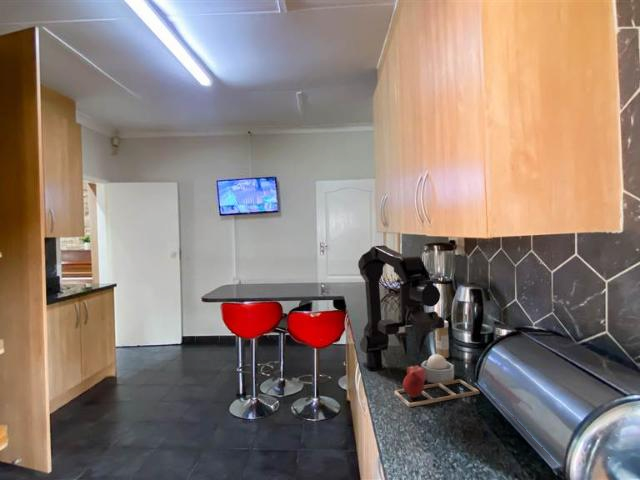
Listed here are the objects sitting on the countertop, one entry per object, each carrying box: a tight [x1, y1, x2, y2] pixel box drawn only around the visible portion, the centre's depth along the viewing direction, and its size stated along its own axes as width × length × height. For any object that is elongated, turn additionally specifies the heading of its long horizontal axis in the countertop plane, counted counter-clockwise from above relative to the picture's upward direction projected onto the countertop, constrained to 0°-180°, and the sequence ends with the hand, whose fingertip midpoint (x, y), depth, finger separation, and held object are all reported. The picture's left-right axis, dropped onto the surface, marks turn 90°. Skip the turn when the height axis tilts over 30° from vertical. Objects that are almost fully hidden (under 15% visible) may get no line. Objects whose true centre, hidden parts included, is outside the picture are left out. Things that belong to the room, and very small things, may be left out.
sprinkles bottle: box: [435, 320, 450, 359], centre depth 138 cm, size 5×5×13 cm
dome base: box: [406, 359, 455, 384], centre depth 119 cm, size 10×15×4 cm, turn 105°
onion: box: [402, 370, 425, 399], centre depth 106 cm, size 6×6×8 cm
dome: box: [426, 353, 449, 370], centre depth 119 cm, size 7×7×6 cm
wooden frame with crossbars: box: [393, 378, 480, 408], centre depth 108 cm, size 9×23×1 cm, turn 105°
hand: (412, 353), depth 106 cm, fingers open, 4 cm apart
